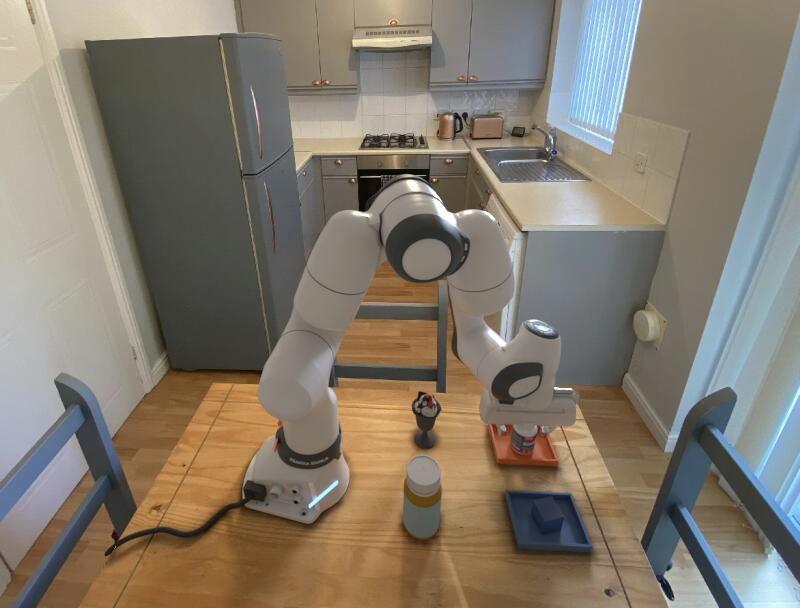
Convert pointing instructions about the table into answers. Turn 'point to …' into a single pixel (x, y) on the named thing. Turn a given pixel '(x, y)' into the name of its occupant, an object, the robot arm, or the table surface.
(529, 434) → the pill bottle
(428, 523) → the bottle
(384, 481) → the table surface
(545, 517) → the blue block
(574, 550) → the blue tray
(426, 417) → the sundae
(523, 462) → the orange tray
